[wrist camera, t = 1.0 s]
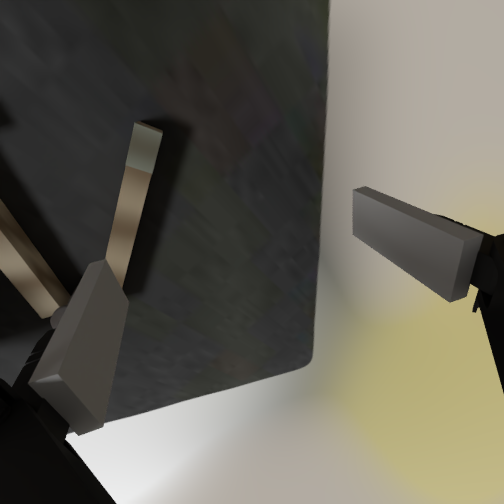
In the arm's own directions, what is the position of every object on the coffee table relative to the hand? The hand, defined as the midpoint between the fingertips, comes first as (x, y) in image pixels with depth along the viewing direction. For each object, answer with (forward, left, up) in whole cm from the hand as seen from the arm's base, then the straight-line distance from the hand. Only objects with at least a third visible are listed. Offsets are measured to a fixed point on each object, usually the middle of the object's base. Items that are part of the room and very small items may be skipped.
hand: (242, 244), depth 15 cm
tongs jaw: (+4, -10, -20) cm, 23 cm away
